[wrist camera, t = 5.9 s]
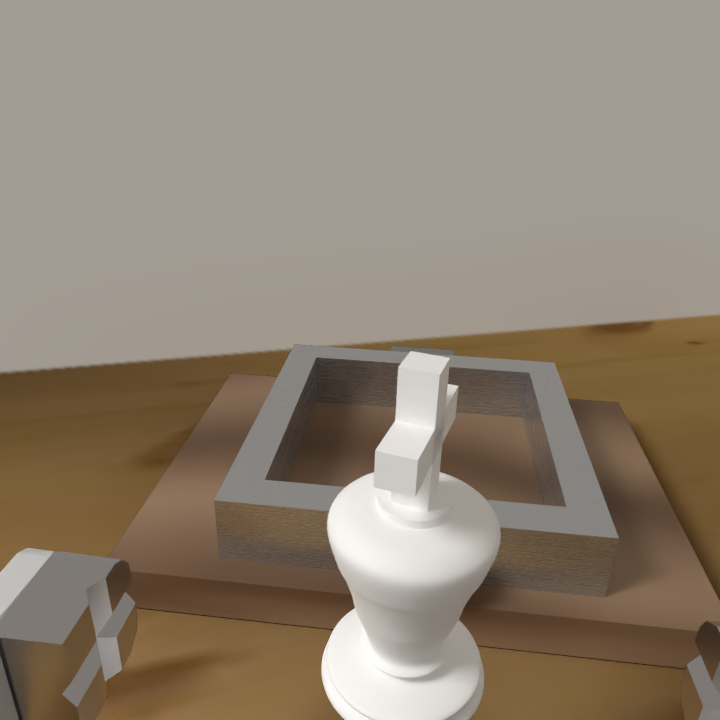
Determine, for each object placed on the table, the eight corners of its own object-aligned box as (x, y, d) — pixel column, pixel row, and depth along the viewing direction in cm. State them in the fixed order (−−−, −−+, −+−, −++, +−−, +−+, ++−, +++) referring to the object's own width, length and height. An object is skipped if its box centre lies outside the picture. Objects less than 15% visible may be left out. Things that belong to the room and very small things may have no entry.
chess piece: (550, 813, 12) (671, 319, 8) (507, 1202, 8) (711, 598, 4) (312, 722, 14) (309, 267, 10) (172, 1008, 10) (56, 426, 5)
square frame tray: (615, 635, 15) (631, 574, 14) (204, 591, 15) (197, 531, 15) (542, 392, 25) (549, 349, 24) (301, 373, 26) (300, 332, 25)
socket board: (722, 672, 15) (736, 635, 15) (107, 604, 17) (101, 568, 16) (612, 430, 25) (618, 402, 25) (232, 399, 26) (231, 373, 26)
